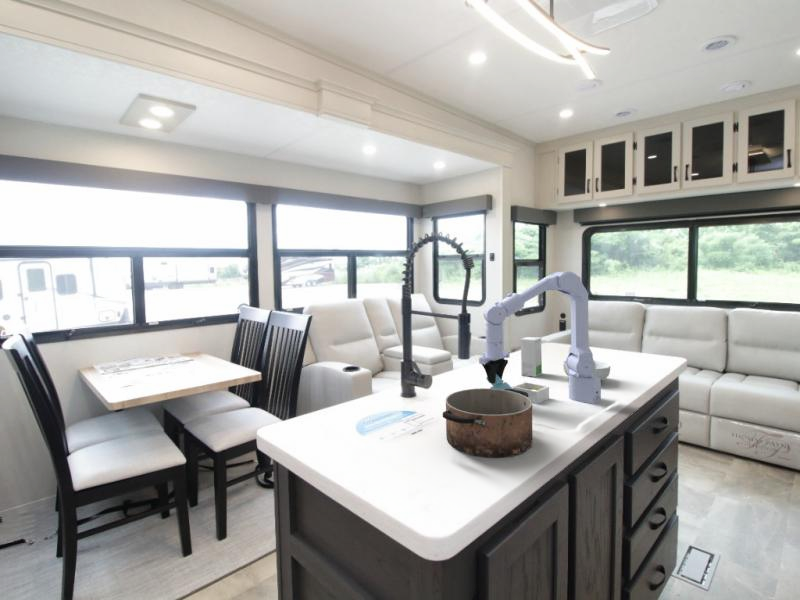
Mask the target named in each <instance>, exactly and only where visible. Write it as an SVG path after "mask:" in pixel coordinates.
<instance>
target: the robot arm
mask: <svg viewBox="0 0 800 600" xmlns="http://www.w3.org/2000/svg"><path fill="white" fill-rule="evenodd" d="M546 291H558V292H559V293H560V292H561V293H563V295H565V296H566V297H567V298H569V299H570V338H571V339H570V341H571V343H570V347H569V348H568V354H567V357H566V359H565V361H566V364H567V366H568V368H570V370H569V376H568V399H569V400H571V401H574V402H579V403H580V402H582V403H586V404H591V405H595V404H596V403H598V402H600V401H601V397H602V383H601V381H602V380H601V381H600V379H599V378H597V377H594V376H592V374H593V373H594V372H595V369H596V364H595V362H594V361H595V360H594V357H593V352H592V350H591V349H590V345H589V341H590V340H589V293H588V290H587V289H586V287H585V286H584V284H583V283H582V279H581V277H580V276H579V275H577V273H574V272H572V271H554V272H552V273H551V274H549V275H547V276H545V277H543V278H541V279H540V280H539V281H537V282H536V283H534V284H532V285H531V286H530V287H528V288H526V289H525V290H523V291H521V292H520V293H516V292H513V293H510V292H509V293H508V294H506V297H505V298H503V299H501V300H500V301H495V302H494V305H489V306H487V307H486V309H485V310H484V313H483V317H484V320H485V353H483V355H482V356H481V357H478V364H480V365H482V367H483V369H484V371H485V373H486V378H487V377H488V380H487V382H488V383H489V384H491V383H493V384H494V383H495V381H496V374H497V375H498V376H499V377H500V378H501V379H502V380H503V375H504V372H505V369H506V367H507V365H508V363H509V360H508V358H510V351H505V350H504V321H505V320H506V318H508V317H510V316H511V315H514V314H515V313H517V312H518V311H520V310H522V309H523V308H524V307H525V303H526V302H528V301H530V300H531V299H533V298H535V297H536V296H539V295H541V294H542V293H544V292H546Z"/></svg>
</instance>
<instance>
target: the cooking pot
mask: <svg viewBox="0 0 800 600" xmlns="http://www.w3.org/2000/svg"><path fill="white" fill-rule="evenodd" d="M442 417H443V419H445V433H446V440H447V442H448V444H450V446H451V445H452V446H453V448H454V449H456V451H459V452H461V453H463V452H464V453H463V454H466V453H467V454H468V455H469V456H470V455H471V456H475V457H481V458H490V459H491V458H492V459H494V458H495V459H496V458H497V459H499V458H501V459H502V458H510V457H515V456H519V455H521V454H523V453H525V452H526V451H528V450H529V449H530V448H531V447H532V445H533V403H532V401H531V400H530V399H529V398H528V393H527V392H524V391H520V390H515V389H504V390H501V389H490V388H485V387H483V388H470V389H469V388H468V389H462V390H458V391H455V392H453V393H450V394H449V395H448V396H447V397H446V398H445V411H443V412H442ZM467 454H466V455H467Z"/></svg>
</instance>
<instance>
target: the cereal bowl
mask: <svg viewBox="0 0 800 600" xmlns="http://www.w3.org/2000/svg"><path fill="white" fill-rule="evenodd" d="M594 362H595V364H596V369H595V372H594V373H593V374H592V376H594V377H597V378H599V379H600V381H604V380H606V379H607V378H608V377H609V375H610V372H611V365H610V364H609V363H606V362H604V361H599V360H594ZM563 370H564V373H565V375H566V376H568V377H569V370H570V368H568V366H567V364H566V360H565V361H563Z"/></svg>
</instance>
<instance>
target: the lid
mask: <svg viewBox="0 0 800 600" xmlns="http://www.w3.org/2000/svg"><path fill="white" fill-rule="evenodd" d="M485 380H486V381H488V377H487V376H486V379H485ZM490 384H491V385H492V386H490V388H489V389H501V390H504V389H513V386H511V385H510V384H509V383H508V382H506V381H505V382H504V380H503V378H502V379H501V378H500V377H499V376H498V375H497V374H496V381H495V383H494V384H493V383H490Z"/></svg>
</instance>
